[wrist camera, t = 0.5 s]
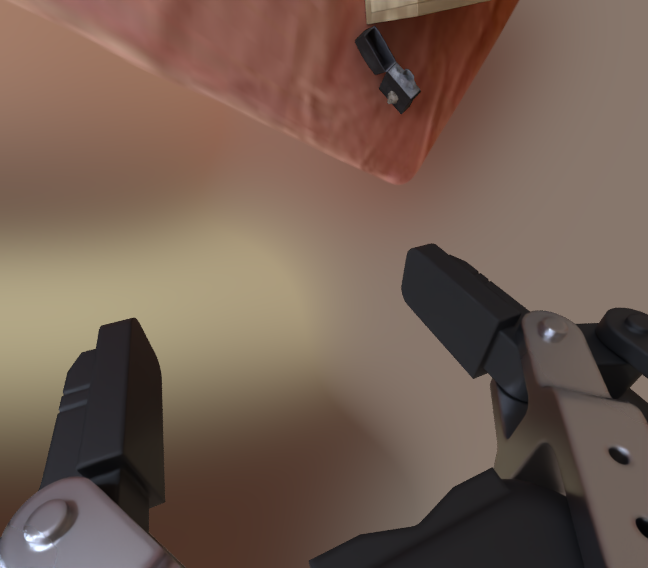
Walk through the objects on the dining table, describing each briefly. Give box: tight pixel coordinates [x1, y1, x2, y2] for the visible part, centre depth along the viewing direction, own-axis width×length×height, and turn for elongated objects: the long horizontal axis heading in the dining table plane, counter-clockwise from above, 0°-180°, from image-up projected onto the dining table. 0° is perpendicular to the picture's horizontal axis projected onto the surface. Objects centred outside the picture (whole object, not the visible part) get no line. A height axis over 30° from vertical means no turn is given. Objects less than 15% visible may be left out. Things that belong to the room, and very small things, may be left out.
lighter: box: [355, 26, 421, 114], centre depth 34 cm, size 8×2×5 cm
